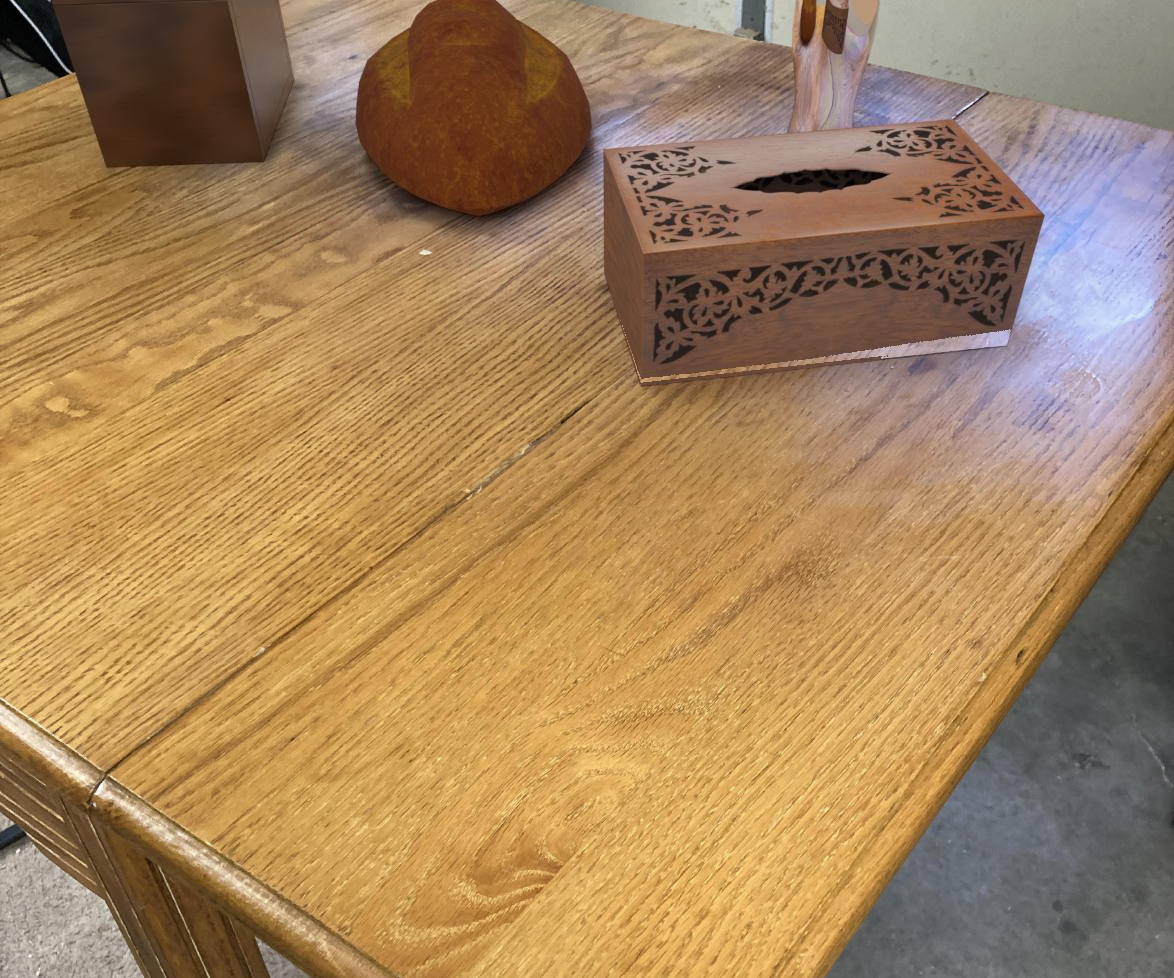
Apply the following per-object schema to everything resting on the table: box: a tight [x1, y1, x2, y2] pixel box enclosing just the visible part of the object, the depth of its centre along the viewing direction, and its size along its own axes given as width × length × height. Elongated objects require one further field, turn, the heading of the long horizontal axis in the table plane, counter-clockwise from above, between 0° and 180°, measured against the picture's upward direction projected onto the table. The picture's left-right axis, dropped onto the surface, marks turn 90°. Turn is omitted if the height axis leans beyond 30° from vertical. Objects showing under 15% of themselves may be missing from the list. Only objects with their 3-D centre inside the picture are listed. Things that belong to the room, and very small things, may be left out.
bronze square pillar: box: [51, 0, 295, 168], centre depth 101 cm, size 14×18×16 cm
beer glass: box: [785, 0, 881, 133], centre depth 96 cm, size 7×7×15 cm
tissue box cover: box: [602, 118, 1046, 387], centre depth 78 cm, size 26×14×10 cm, turn 99°
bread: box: [355, 0, 593, 217], centre depth 98 cm, size 21×33×12 cm, turn 2°
